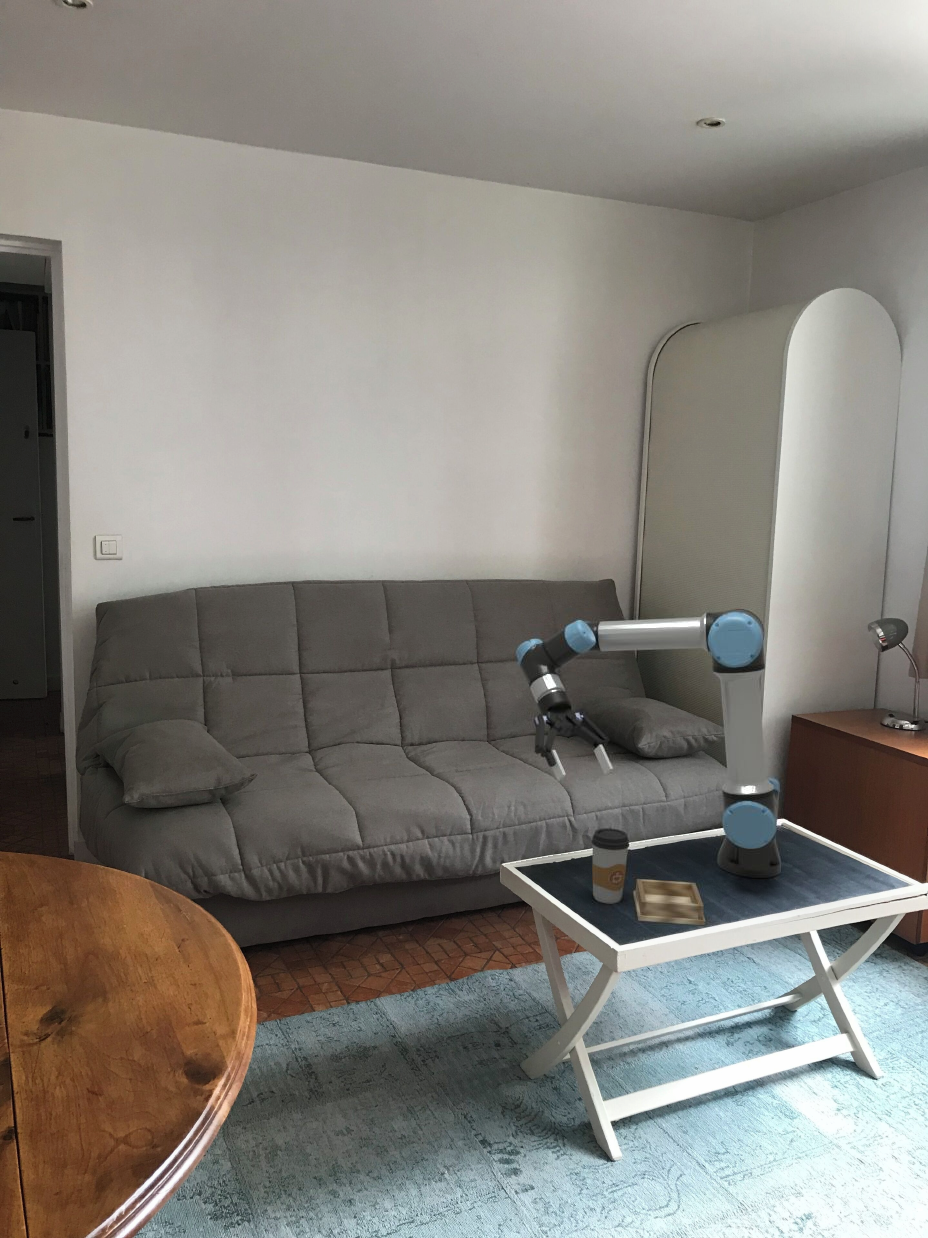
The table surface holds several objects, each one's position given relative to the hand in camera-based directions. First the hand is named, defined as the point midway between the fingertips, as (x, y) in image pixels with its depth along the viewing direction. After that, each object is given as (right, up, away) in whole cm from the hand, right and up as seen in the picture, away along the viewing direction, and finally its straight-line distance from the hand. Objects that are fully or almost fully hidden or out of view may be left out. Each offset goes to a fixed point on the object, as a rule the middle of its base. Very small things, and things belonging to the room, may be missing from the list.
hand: (585, 774), depth 228 cm
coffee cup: (+4, -27, -5) cm, 28 cm away
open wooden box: (+17, -28, -11) cm, 34 cm away
